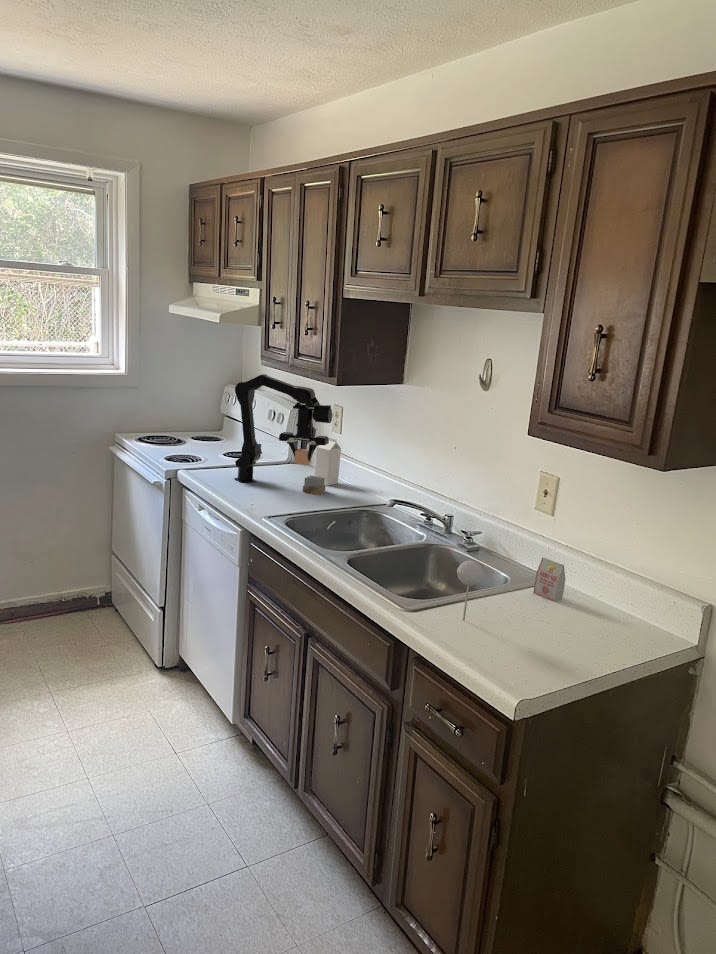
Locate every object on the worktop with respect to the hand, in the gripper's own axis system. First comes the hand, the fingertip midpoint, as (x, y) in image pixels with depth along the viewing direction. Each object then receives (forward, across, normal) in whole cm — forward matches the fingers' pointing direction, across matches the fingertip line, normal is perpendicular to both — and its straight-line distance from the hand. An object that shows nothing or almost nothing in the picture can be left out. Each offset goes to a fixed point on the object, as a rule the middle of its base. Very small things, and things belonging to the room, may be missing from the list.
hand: (302, 460), depth 280 cm
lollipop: (+14, -74, +99) cm, 124 cm away
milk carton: (+12, -6, -15) cm, 20 cm away
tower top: (+9, -5, +1) cm, 11 cm away
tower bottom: (+12, -6, +1) cm, 13 cm away
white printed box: (+14, -94, +72) cm, 120 cm away
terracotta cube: (+1, 0, 0) cm, 1 cm away
